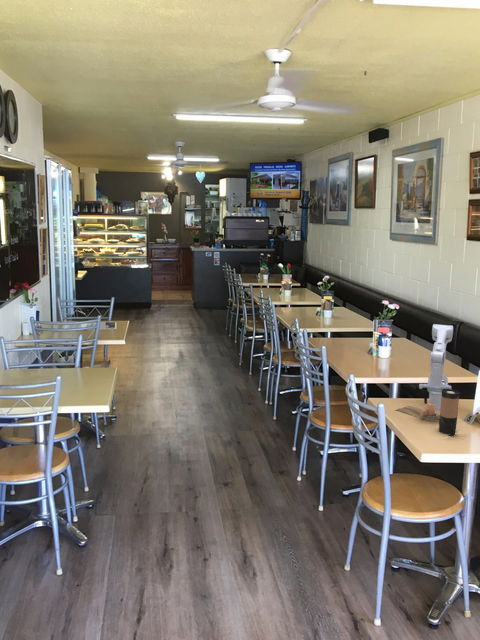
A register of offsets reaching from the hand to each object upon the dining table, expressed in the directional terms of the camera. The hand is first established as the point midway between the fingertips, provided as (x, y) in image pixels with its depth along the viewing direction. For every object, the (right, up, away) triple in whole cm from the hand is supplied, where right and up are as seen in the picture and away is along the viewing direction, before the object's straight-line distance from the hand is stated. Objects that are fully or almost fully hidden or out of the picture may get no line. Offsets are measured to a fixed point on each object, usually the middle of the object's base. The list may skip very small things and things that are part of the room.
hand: (433, 403), depth 292 cm
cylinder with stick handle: (-1, -8, +7) cm, 10 cm away
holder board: (-3, -8, +12) cm, 15 cm away
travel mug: (+2, -12, -12) cm, 17 cm away
